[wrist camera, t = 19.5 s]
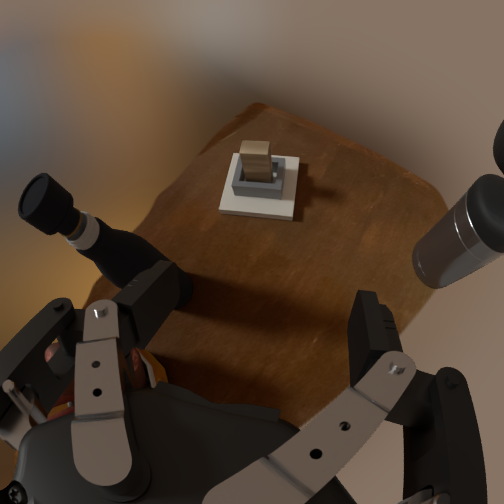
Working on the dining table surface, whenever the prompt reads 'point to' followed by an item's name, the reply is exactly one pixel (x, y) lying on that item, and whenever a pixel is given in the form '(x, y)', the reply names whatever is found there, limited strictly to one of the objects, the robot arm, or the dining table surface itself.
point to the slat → (257, 161)
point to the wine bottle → (92, 235)
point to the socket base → (261, 190)
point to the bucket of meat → (144, 367)
